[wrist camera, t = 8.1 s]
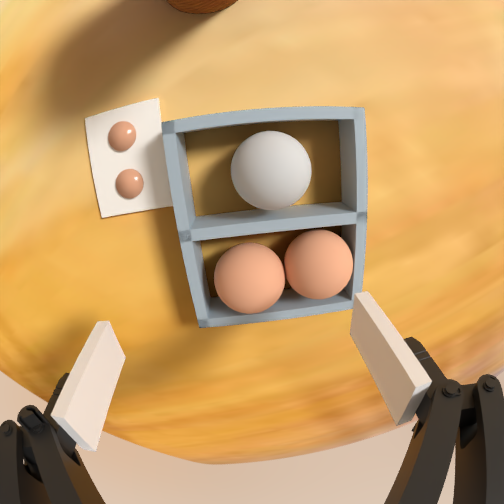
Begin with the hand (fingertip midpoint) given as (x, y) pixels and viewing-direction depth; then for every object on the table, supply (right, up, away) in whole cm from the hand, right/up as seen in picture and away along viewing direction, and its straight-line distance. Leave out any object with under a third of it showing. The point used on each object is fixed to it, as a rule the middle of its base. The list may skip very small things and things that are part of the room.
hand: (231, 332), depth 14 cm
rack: (+2, +7, +7) cm, 10 cm away
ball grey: (+2, +10, +5) cm, 12 cm away
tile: (-8, +11, +4) cm, 14 cm away
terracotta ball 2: (+4, +4, +8) cm, 10 cm away
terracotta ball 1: (0, +3, +8) cm, 9 cm away
